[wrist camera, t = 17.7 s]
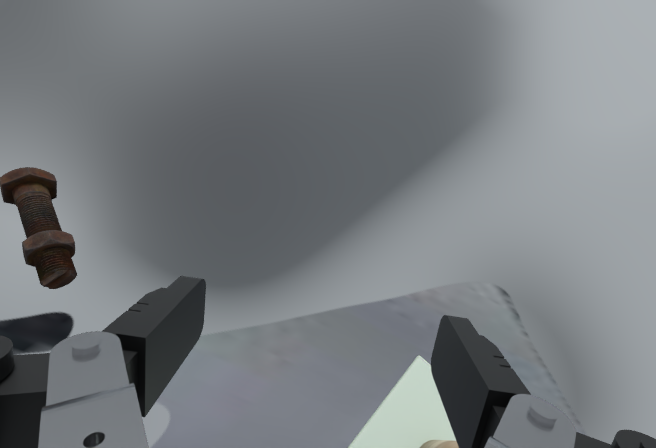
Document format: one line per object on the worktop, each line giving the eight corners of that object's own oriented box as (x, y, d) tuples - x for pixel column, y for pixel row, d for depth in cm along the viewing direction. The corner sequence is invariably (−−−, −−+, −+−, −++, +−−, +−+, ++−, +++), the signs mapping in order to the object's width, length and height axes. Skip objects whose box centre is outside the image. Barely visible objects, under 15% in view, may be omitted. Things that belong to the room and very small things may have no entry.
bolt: (73, 296, 40) (41, 202, 46) (101, 269, 40) (65, 176, 45) (13, 296, 35) (-14, 189, 41) (44, 264, 34) (11, 160, 40)
